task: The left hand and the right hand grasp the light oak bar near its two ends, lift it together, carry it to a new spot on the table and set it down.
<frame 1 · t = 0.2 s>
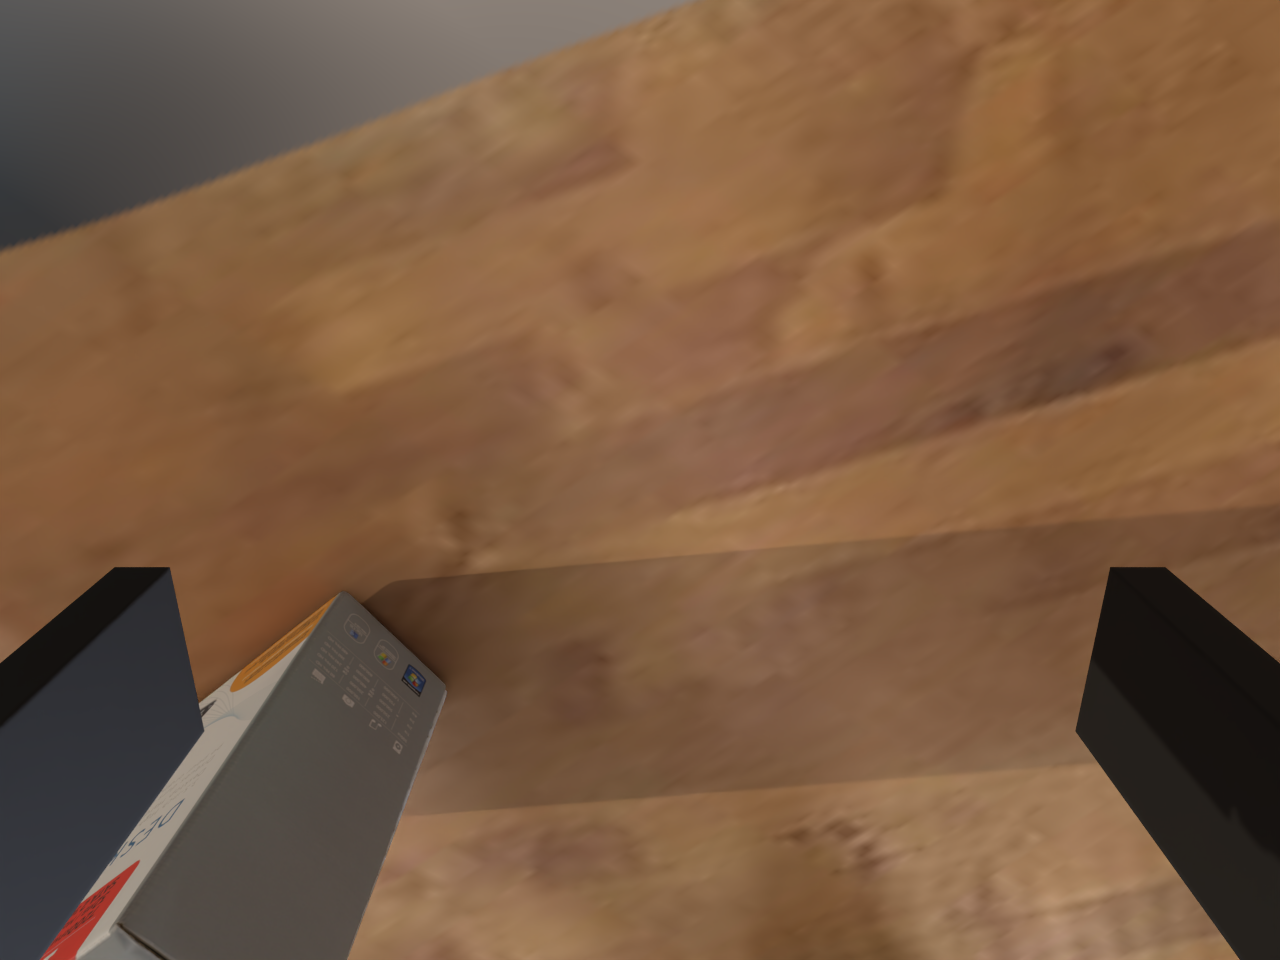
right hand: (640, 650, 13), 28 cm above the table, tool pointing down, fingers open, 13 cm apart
hard drive box: (293, 715, 46), on the table
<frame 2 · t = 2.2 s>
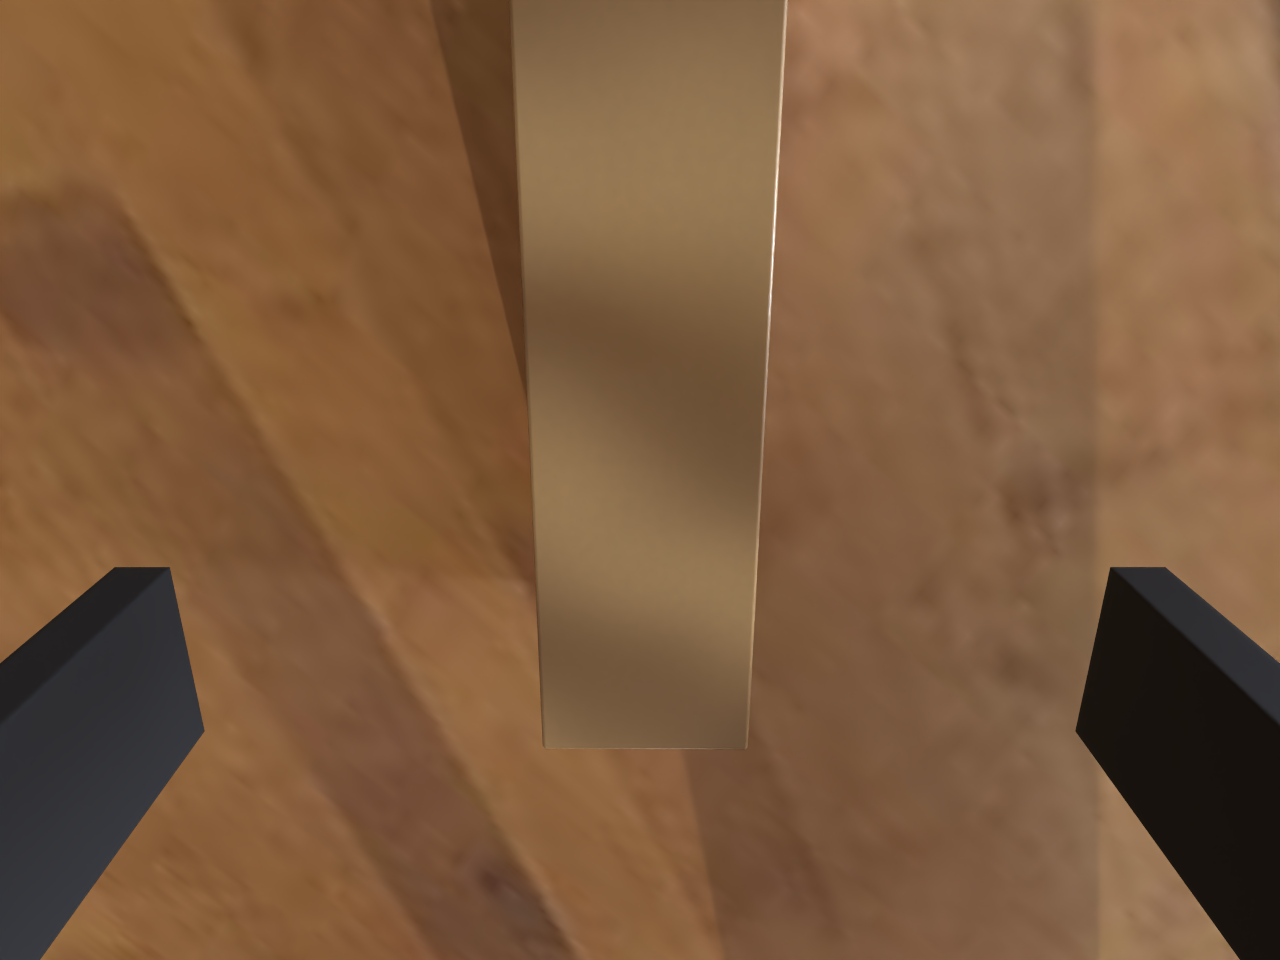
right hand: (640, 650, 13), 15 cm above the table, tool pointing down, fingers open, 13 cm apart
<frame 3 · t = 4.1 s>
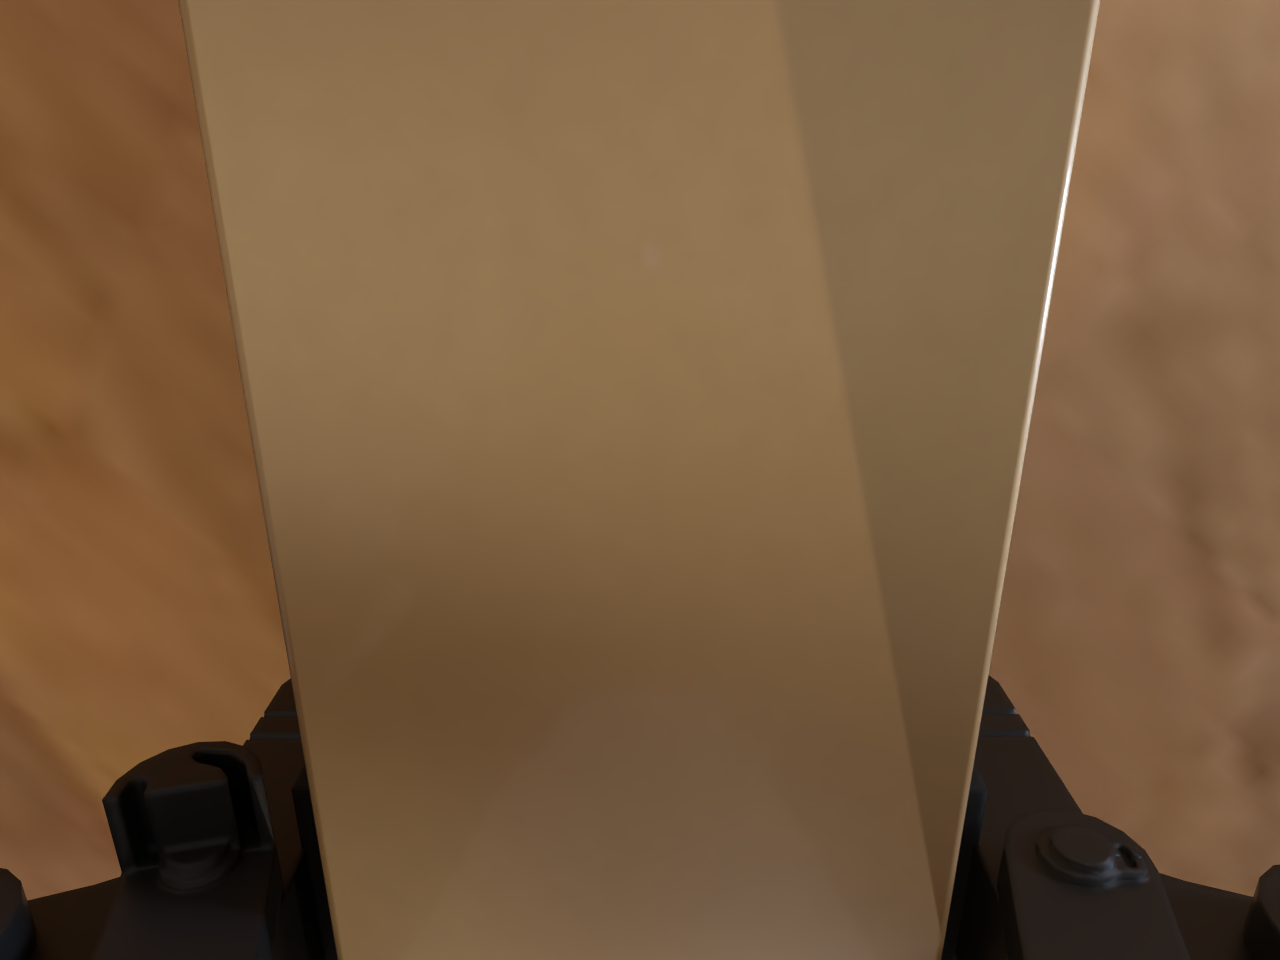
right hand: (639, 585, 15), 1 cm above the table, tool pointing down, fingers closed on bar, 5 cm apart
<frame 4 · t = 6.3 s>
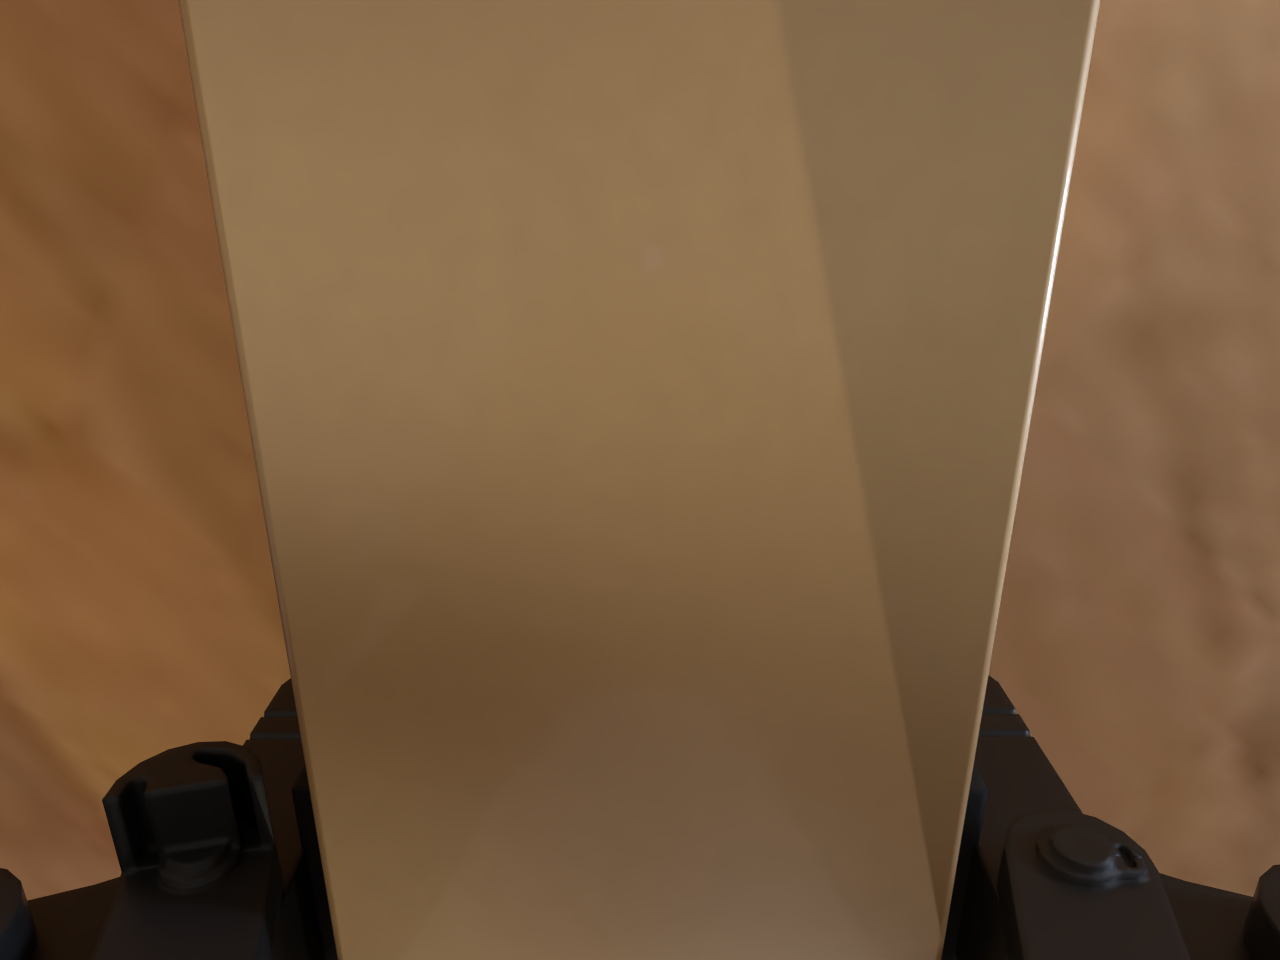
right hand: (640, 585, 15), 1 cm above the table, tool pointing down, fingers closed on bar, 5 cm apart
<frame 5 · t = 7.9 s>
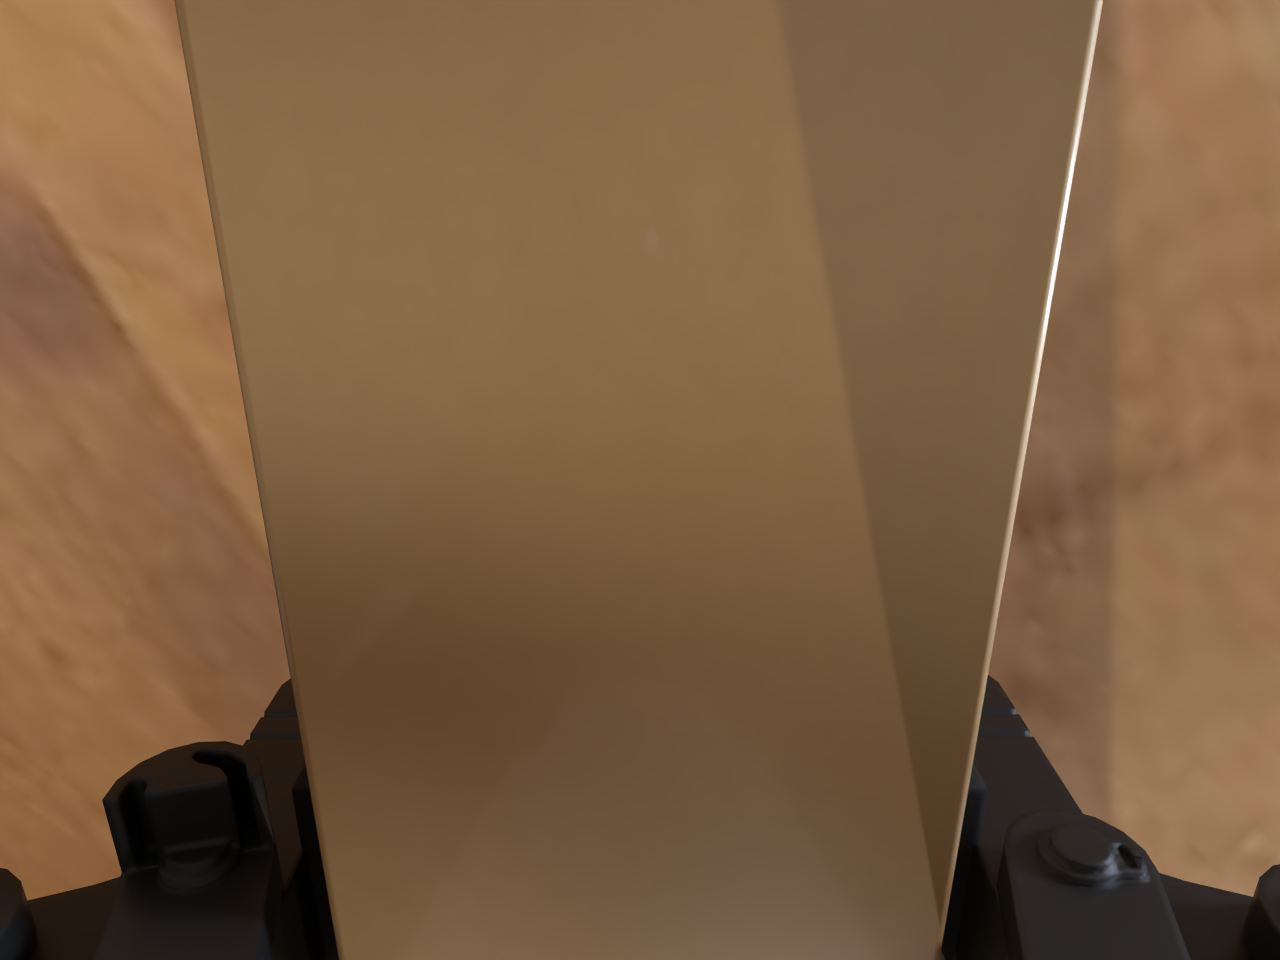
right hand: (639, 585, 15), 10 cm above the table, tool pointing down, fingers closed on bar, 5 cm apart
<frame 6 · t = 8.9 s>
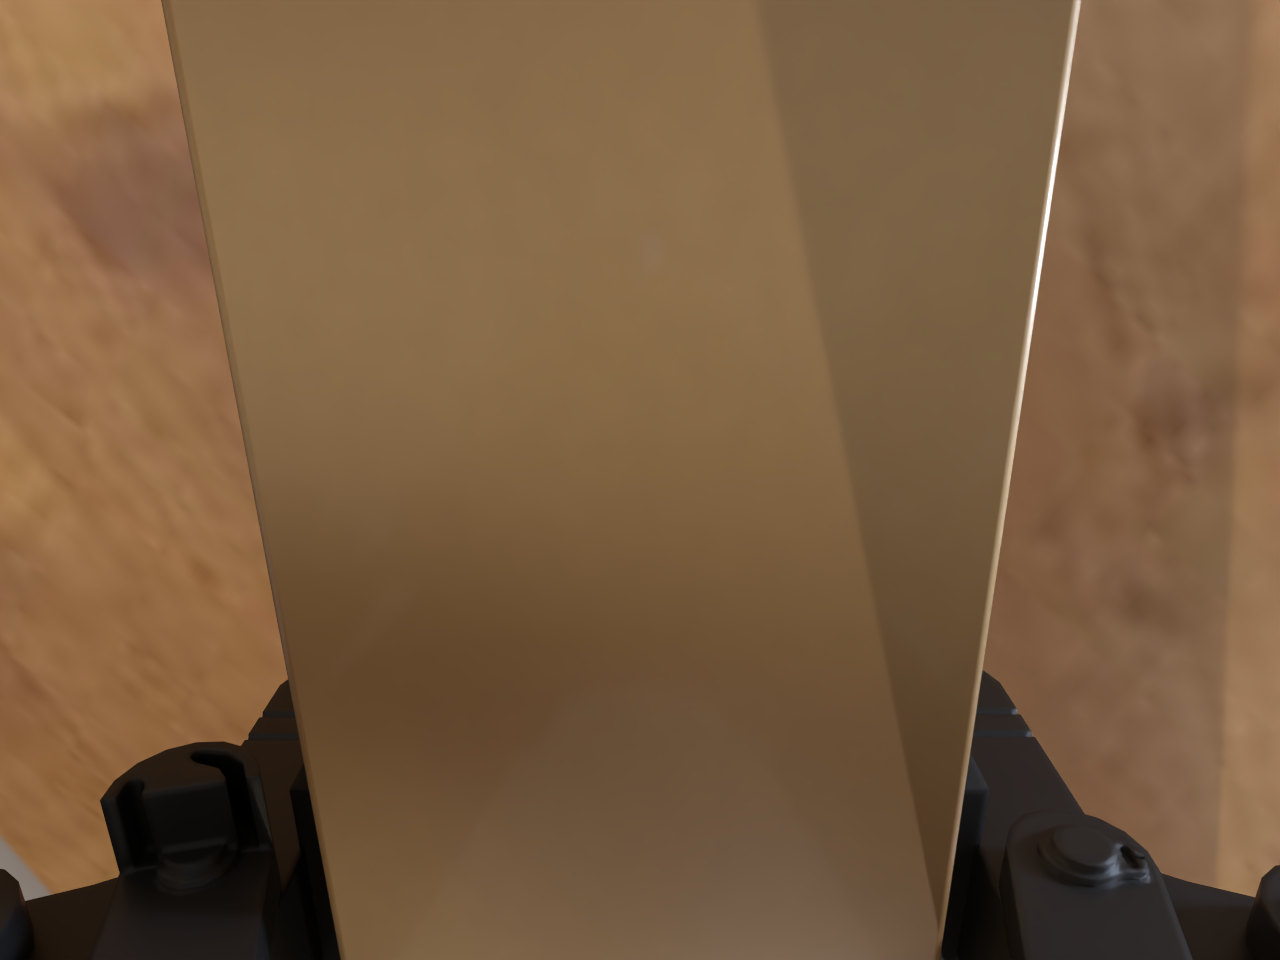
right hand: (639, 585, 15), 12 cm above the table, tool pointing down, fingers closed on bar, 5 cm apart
when the left hand's fingers open (2 cm above the table, at t = 11.6 s): bar drops 1 cm, on the table.
when the right hand's fingers open (2 cm above the table, at t = 11.6 s): bar drops 1 cm, on the table.
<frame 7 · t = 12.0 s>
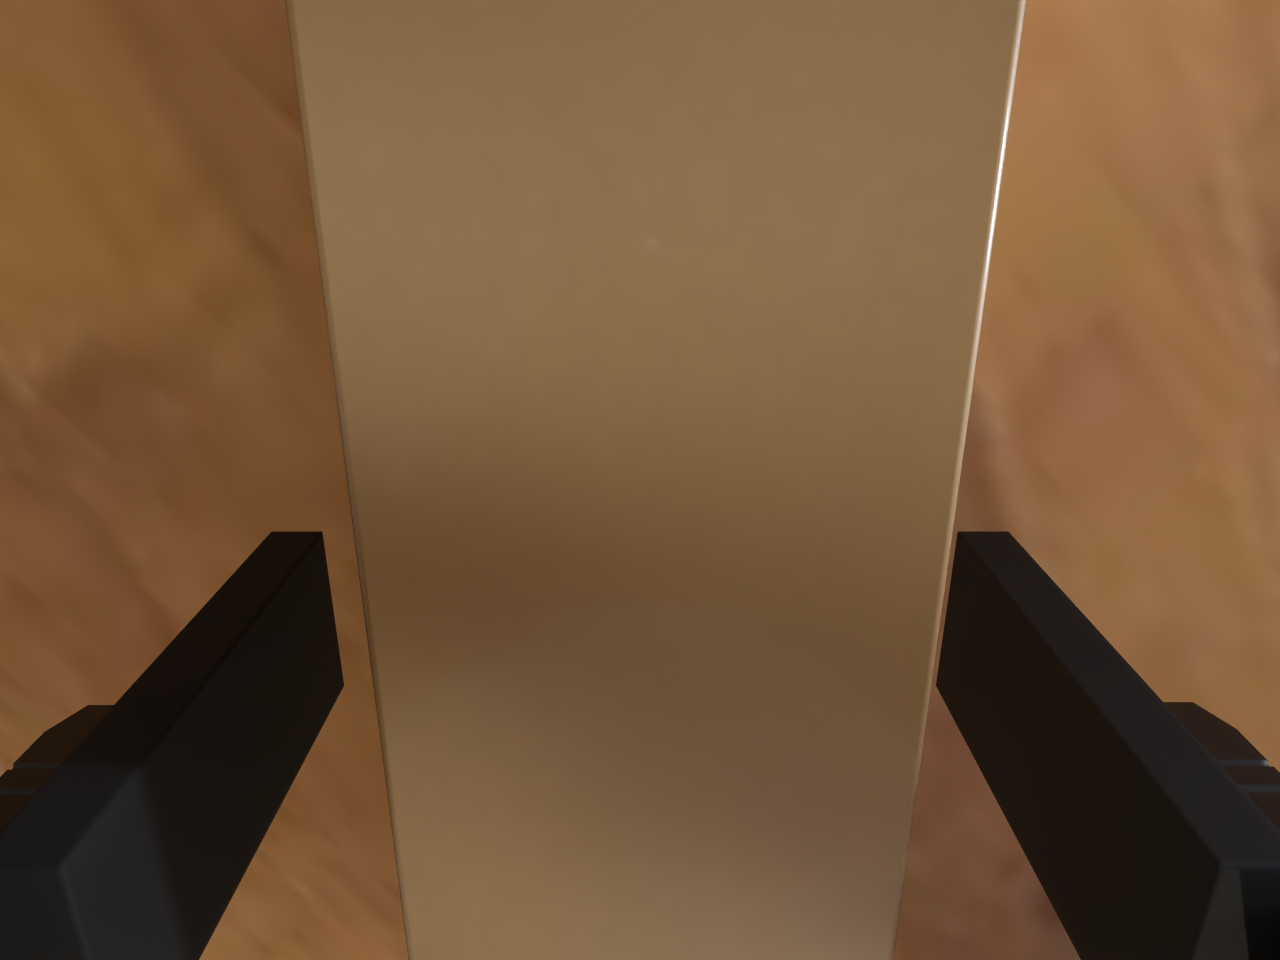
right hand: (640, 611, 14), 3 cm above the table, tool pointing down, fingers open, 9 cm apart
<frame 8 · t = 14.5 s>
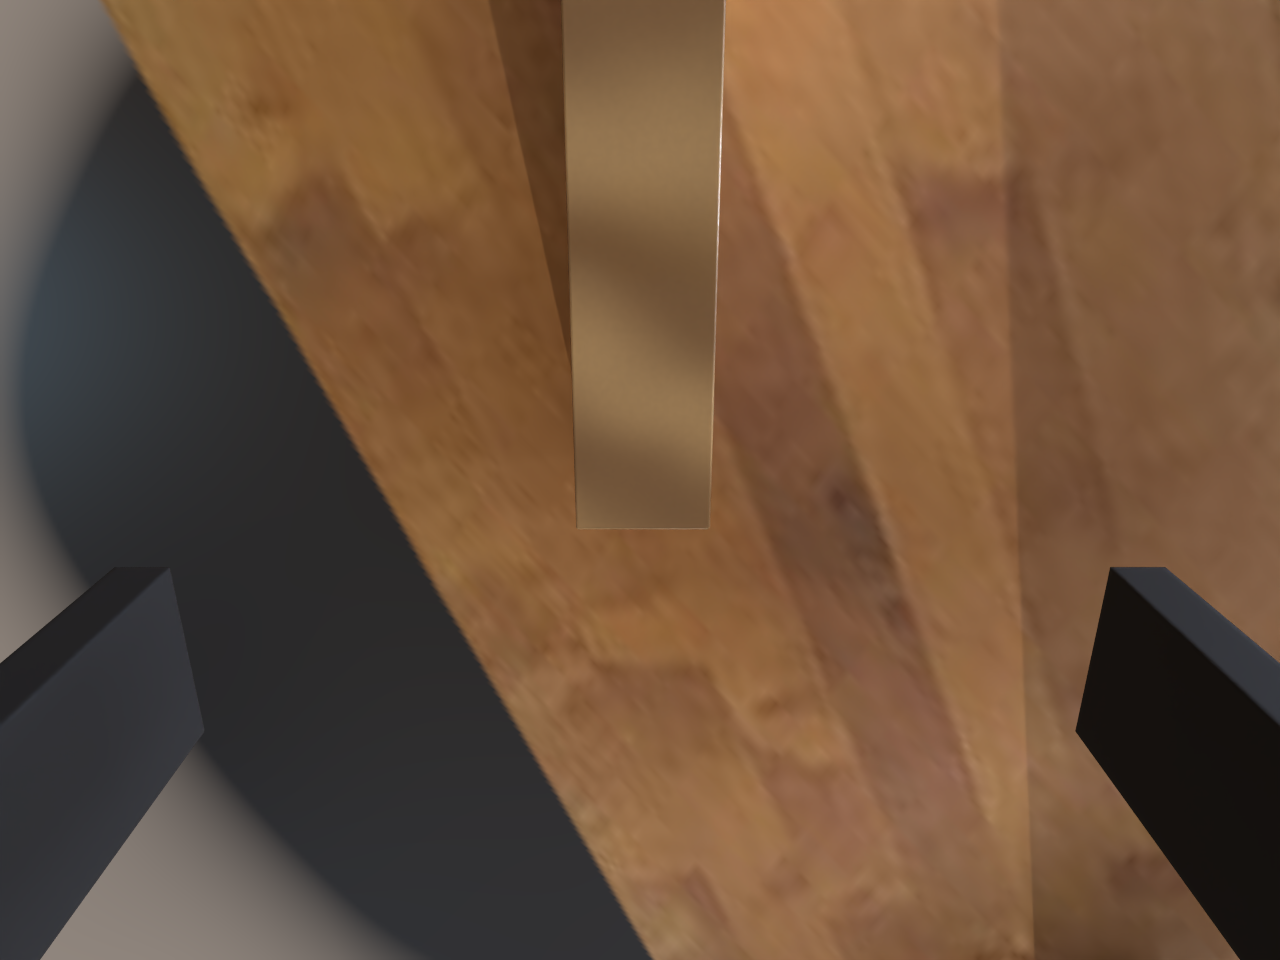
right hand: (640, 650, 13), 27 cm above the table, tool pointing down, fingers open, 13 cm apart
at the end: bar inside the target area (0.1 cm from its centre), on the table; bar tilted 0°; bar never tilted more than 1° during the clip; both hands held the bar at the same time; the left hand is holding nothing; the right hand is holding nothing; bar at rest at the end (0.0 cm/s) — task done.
